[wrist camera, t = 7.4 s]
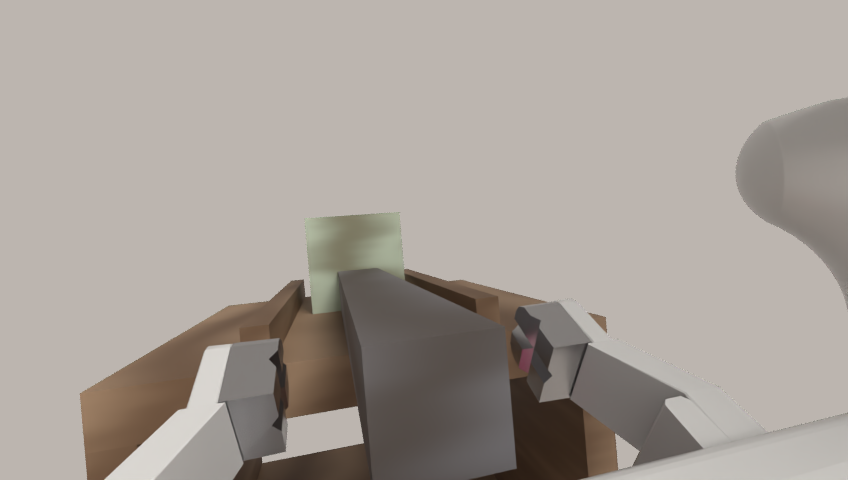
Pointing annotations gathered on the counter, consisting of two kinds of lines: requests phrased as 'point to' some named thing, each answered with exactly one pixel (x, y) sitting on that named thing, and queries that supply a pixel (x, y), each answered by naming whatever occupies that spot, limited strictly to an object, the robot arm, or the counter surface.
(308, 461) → the walnut shelf
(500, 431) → the block
